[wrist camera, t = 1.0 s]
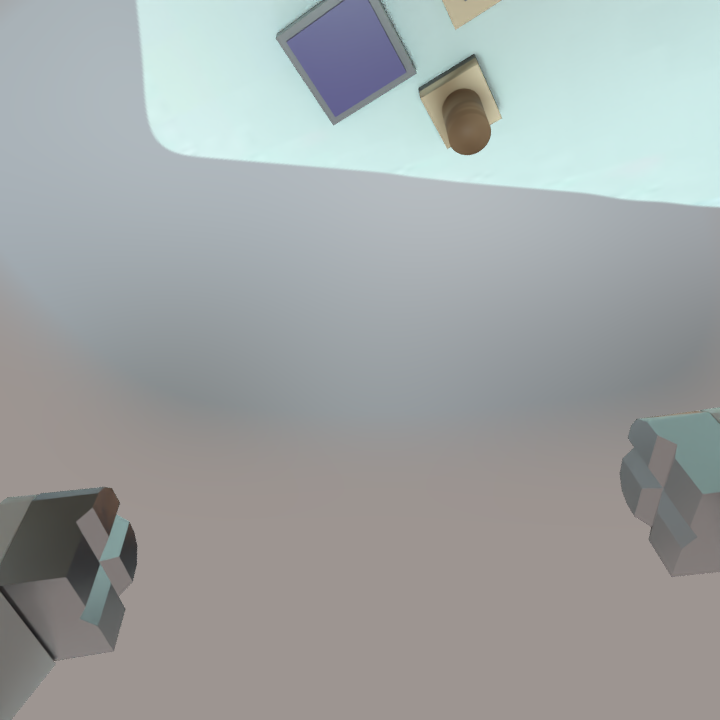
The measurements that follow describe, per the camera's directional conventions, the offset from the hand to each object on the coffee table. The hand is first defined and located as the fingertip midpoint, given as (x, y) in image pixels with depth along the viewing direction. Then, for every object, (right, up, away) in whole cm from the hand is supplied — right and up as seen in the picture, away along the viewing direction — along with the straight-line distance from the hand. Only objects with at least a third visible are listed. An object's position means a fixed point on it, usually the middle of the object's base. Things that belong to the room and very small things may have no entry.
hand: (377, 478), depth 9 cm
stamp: (+8, +24, +39) cm, 47 cm away
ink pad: (-1, +26, +37) cm, 45 cm away
